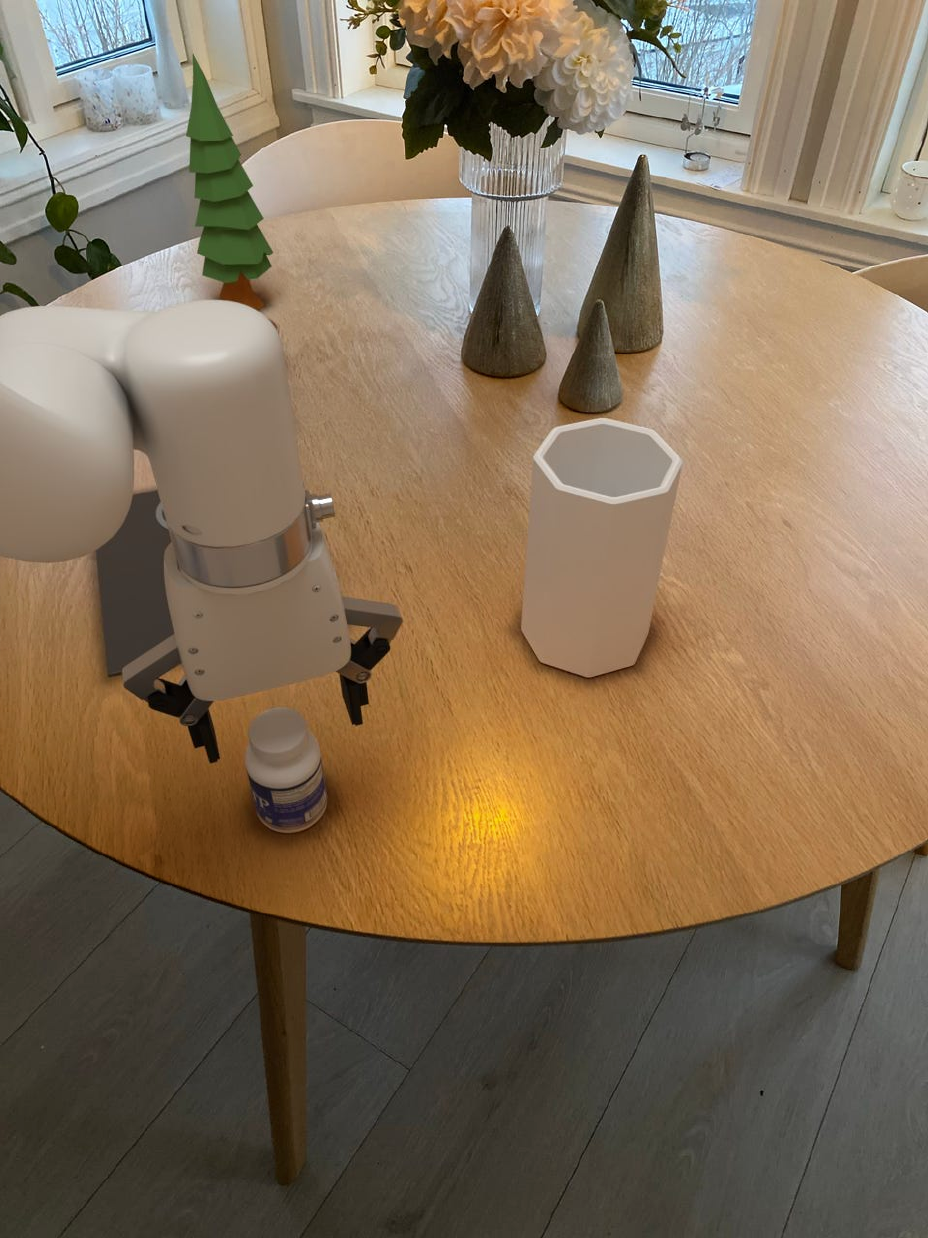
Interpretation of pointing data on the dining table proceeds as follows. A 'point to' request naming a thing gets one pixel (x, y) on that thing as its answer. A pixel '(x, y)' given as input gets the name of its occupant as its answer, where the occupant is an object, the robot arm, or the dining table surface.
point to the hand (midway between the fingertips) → (283, 728)
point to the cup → (596, 543)
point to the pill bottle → (285, 771)
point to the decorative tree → (224, 201)
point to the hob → (134, 584)
